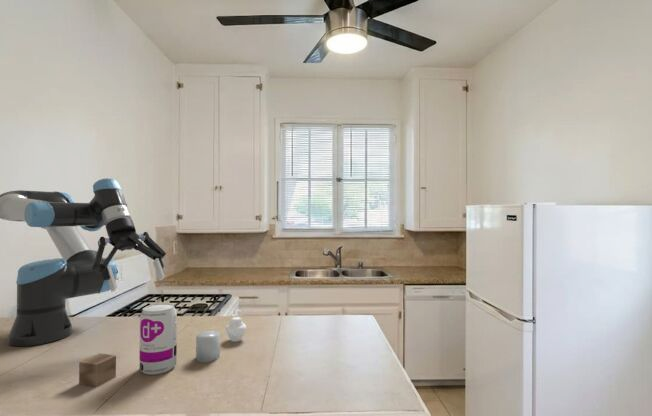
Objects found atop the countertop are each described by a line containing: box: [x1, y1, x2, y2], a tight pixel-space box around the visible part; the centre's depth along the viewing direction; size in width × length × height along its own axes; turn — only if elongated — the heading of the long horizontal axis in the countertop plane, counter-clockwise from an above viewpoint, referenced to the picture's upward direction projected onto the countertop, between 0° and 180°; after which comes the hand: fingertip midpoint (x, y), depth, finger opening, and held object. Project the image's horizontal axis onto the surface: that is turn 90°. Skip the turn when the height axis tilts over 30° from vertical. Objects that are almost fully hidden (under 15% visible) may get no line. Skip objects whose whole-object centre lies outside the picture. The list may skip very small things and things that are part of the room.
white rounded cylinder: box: [195, 330, 221, 363], centre depth 93 cm, size 6×6×6 cm
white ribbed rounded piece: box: [225, 316, 247, 343], centre depth 106 cm, size 6×6×7 cm
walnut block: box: [78, 352, 117, 388], centre depth 80 cm, size 5×5×5 cm
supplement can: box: [138, 303, 178, 376], centre depth 87 cm, size 8×8×15 cm
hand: (139, 283), depth 103 cm, fingers open, 13 cm apart
